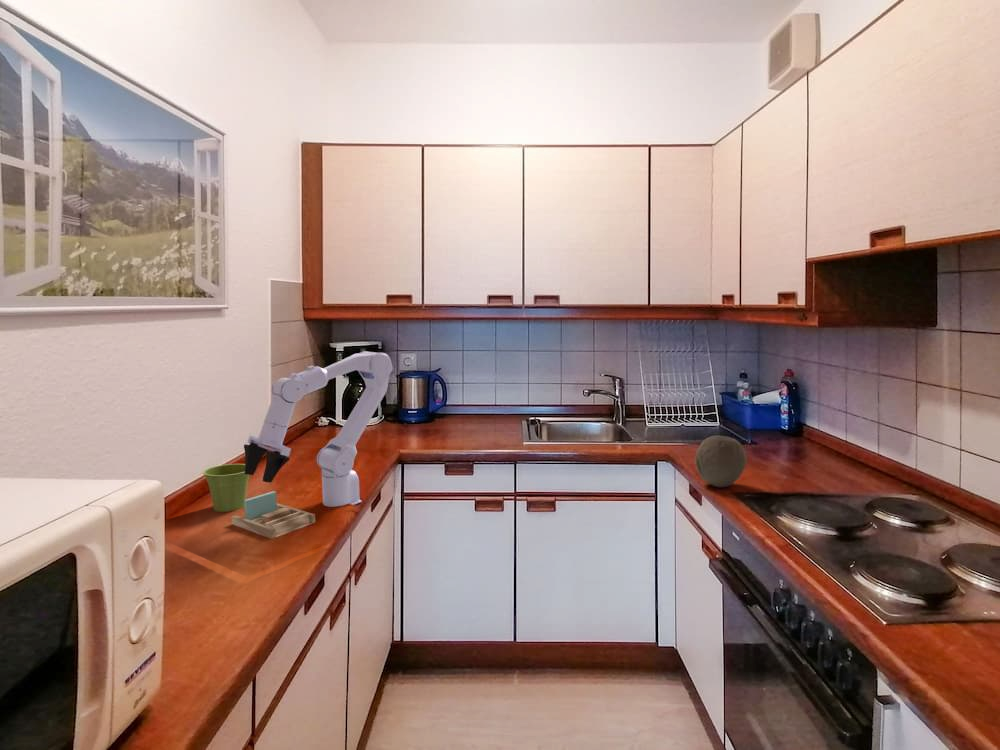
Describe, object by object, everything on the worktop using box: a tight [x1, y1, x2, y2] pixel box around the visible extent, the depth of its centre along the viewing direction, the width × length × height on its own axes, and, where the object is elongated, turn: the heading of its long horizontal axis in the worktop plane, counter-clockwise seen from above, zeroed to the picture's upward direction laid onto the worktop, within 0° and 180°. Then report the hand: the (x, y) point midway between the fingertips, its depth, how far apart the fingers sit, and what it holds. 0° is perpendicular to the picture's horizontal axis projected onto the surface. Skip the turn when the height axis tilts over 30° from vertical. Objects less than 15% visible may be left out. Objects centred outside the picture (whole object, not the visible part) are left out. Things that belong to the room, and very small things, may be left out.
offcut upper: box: [262, 508, 291, 522], centre depth 139 cm, size 6×2×1 cm, turn 150°
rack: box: [231, 502, 316, 539], centre depth 140 cm, size 12×16×3 cm
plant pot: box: [202, 463, 251, 513], centre depth 151 cm, size 12×12×11 cm
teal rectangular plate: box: [243, 490, 278, 520], centre depth 142 cm, size 8×1×6 cm, turn 146°
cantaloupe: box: [694, 435, 748, 488], centre depth 170 cm, size 14×14×15 cm
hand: (257, 478), depth 140 cm, fingers open, 7 cm apart
